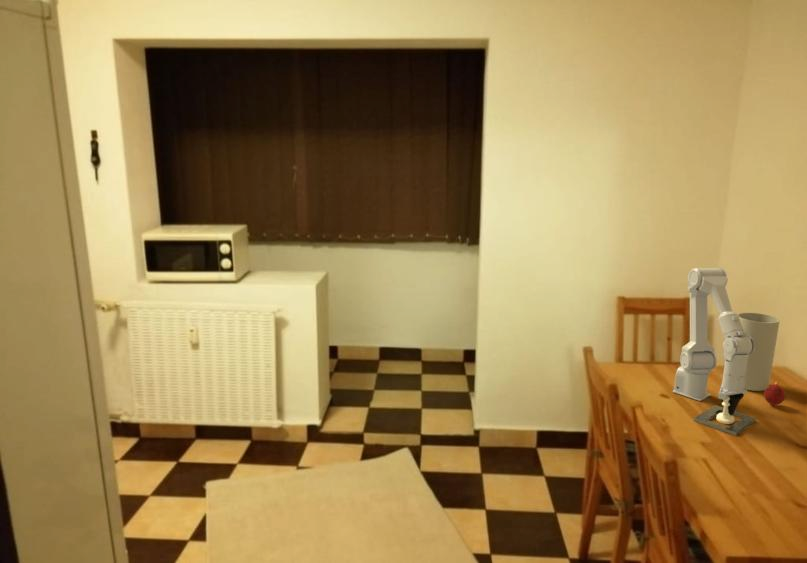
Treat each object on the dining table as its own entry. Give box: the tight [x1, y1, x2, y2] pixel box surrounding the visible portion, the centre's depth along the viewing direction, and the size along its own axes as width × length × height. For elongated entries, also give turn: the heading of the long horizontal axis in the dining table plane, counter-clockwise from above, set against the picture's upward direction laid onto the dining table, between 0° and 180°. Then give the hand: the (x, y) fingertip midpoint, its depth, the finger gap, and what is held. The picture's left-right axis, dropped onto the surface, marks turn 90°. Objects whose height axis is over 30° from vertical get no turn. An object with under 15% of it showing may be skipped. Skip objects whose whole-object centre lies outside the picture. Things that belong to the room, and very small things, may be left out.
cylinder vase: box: [736, 312, 780, 392], centre depth 197 cm, size 12×12×25 cm
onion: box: [763, 382, 786, 406], centre depth 182 cm, size 6×6×8 cm
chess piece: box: [715, 396, 735, 425], centre depth 171 cm, size 5×5×10 cm
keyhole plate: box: [693, 404, 757, 437], centre depth 172 cm, size 14×12×1 cm
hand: (728, 414), depth 173 cm, fingers closed, pressing on chess piece
